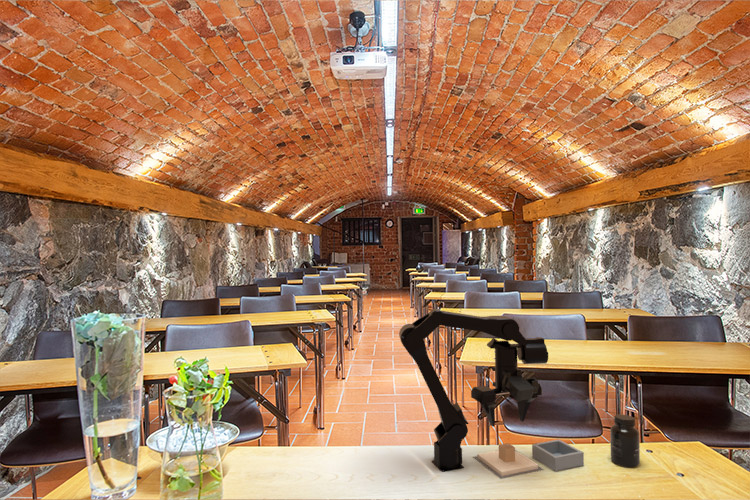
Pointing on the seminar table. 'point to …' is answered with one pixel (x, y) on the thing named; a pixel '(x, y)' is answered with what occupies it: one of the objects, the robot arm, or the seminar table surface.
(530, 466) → the lid
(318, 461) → the seminar table surface
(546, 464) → the dish
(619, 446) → the supplement bottle
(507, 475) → the mat
